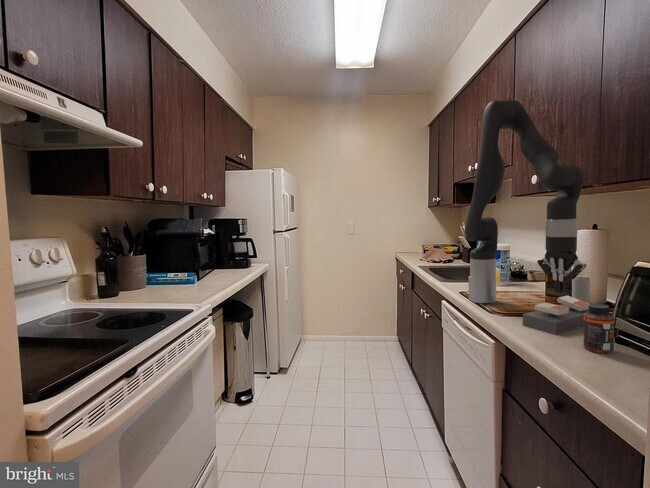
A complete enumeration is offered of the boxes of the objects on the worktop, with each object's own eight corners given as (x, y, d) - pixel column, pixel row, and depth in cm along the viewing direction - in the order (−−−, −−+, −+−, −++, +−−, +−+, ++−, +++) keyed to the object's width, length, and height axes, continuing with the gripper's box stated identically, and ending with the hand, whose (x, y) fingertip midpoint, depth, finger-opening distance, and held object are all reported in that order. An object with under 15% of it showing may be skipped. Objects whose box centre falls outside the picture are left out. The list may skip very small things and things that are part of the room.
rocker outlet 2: (556, 301, 109) (557, 297, 109) (566, 299, 111) (567, 295, 111) (580, 311, 103) (581, 306, 103) (589, 308, 105) (590, 304, 105)
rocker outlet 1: (534, 309, 105) (534, 304, 105) (545, 307, 107) (545, 302, 107) (558, 315, 98) (558, 310, 98) (568, 312, 101) (568, 307, 100)
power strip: (522, 325, 105) (522, 311, 105) (566, 313, 114) (566, 300, 114) (555, 334, 96) (555, 319, 96) (600, 321, 105) (600, 307, 105)
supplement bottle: (616, 356, 81) (616, 309, 80) (584, 352, 84) (585, 307, 83) (611, 347, 86) (612, 303, 85) (582, 343, 89) (582, 301, 88)
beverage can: (573, 311, 116) (573, 277, 115) (570, 308, 120) (570, 274, 119) (590, 312, 113) (591, 277, 112) (587, 309, 118) (588, 274, 117)
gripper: (530, 234, 103) (530, 290, 105) (578, 236, 91) (576, 299, 93) (546, 232, 106) (545, 287, 108) (594, 234, 94) (592, 295, 96)
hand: (560, 292), depth 100 cm, fingers closed
